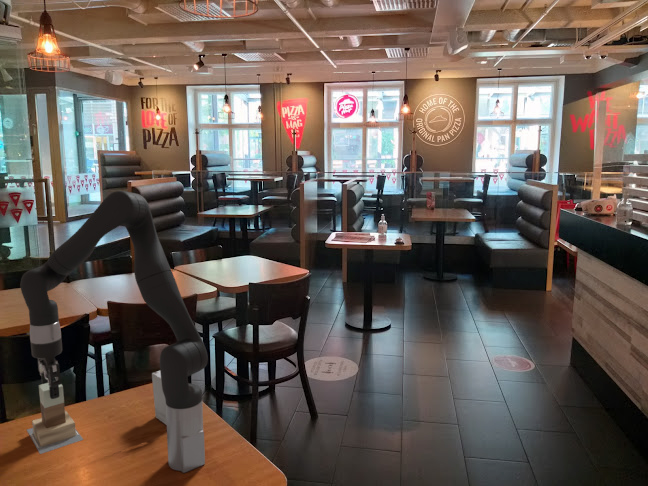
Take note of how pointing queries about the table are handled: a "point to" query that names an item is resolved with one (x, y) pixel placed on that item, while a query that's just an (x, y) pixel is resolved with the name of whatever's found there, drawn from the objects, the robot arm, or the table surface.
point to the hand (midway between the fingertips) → (50, 392)
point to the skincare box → (159, 397)
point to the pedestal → (53, 431)
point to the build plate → (54, 445)
